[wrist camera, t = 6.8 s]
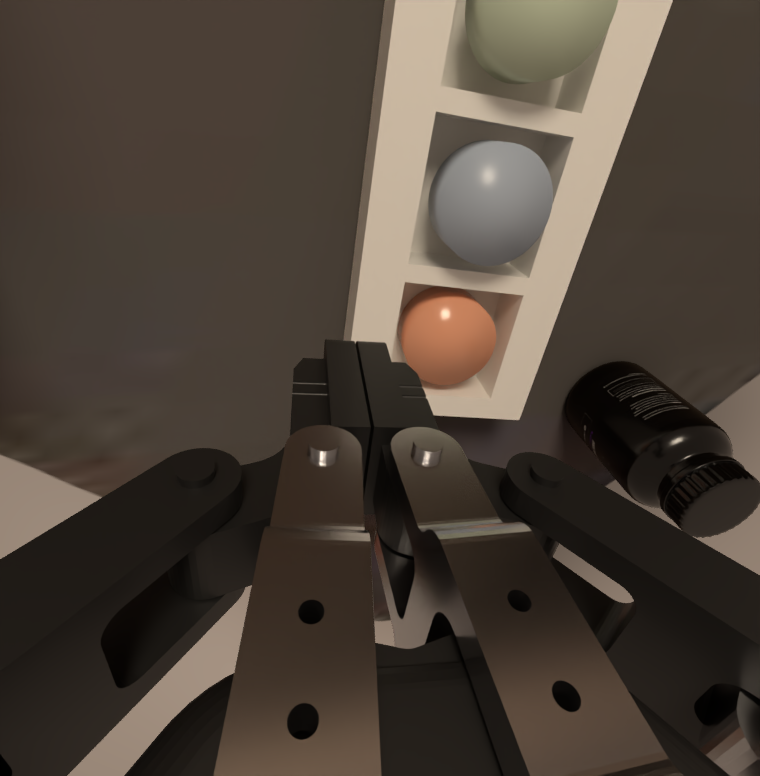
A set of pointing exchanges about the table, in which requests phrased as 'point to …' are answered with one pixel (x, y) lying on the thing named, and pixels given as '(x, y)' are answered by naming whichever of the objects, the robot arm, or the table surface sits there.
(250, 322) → the table surface
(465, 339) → the button terracotta
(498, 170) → the button slate
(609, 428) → the supplement bottle
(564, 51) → the button sage
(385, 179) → the button box
